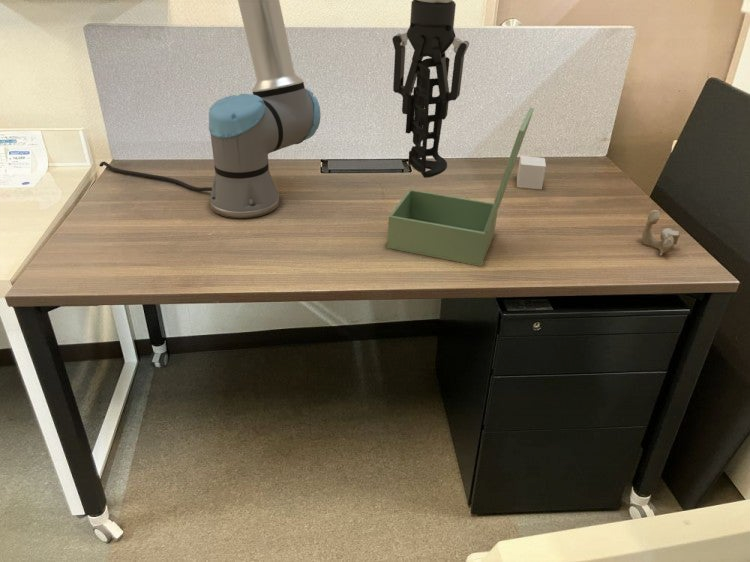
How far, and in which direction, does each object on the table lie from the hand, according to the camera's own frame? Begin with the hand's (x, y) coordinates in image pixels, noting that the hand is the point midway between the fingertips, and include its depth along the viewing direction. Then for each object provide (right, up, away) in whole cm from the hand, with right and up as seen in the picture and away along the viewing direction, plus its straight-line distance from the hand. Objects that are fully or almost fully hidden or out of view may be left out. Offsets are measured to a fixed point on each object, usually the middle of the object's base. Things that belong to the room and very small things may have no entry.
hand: (422, 132), depth 115 cm
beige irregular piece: (+50, -22, +10) cm, 55 cm away
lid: (+16, -7, -2) cm, 17 cm away
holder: (0, -6, +4) cm, 7 cm away
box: (+5, -20, +10) cm, 23 cm away
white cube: (+30, -4, +37) cm, 48 cm away
